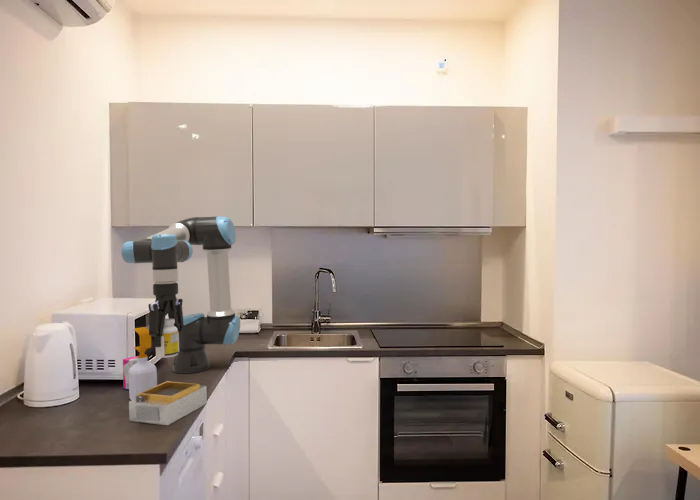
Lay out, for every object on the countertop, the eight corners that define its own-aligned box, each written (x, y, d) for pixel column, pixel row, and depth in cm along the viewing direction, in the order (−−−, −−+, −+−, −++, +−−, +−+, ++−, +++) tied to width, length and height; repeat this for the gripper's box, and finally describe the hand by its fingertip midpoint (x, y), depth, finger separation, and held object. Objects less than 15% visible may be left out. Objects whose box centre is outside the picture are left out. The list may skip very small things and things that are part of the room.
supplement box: (146, 387, 187) (145, 357, 187) (132, 391, 182) (131, 360, 182) (136, 385, 190) (135, 355, 190) (122, 389, 185) (121, 358, 185)
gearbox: (172, 400, 172) (171, 378, 171) (206, 403, 167) (206, 381, 167) (128, 421, 152) (127, 397, 152) (166, 425, 148) (165, 400, 148)
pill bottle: (153, 355, 159) (152, 319, 159) (173, 352, 164) (171, 317, 164) (162, 359, 155) (161, 322, 154) (182, 355, 159) (180, 319, 159)
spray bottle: (149, 391, 182) (146, 324, 181) (162, 396, 176) (160, 327, 175) (124, 398, 175) (122, 328, 174) (137, 403, 169) (135, 331, 168)
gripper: (175, 279, 169) (177, 347, 170) (133, 285, 151) (136, 361, 151) (194, 279, 167) (196, 348, 167) (154, 285, 148) (156, 362, 149)
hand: (167, 354), depth 159 cm, fingers closed on pill bottle, 6 cm apart
